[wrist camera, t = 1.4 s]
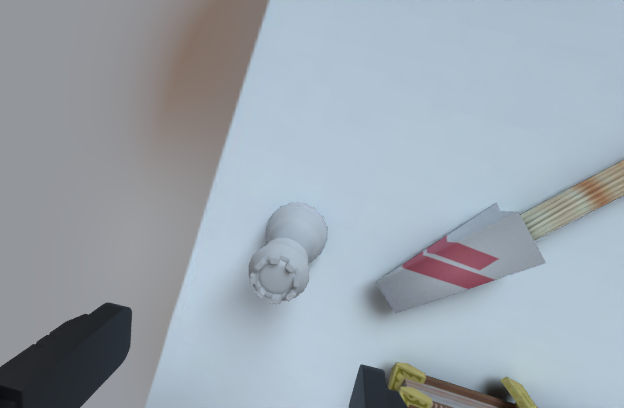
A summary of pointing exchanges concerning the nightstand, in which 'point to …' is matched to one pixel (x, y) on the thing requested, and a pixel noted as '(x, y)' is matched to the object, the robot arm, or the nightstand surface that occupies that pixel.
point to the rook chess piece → (288, 252)
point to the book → (449, 392)
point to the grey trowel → (494, 244)
